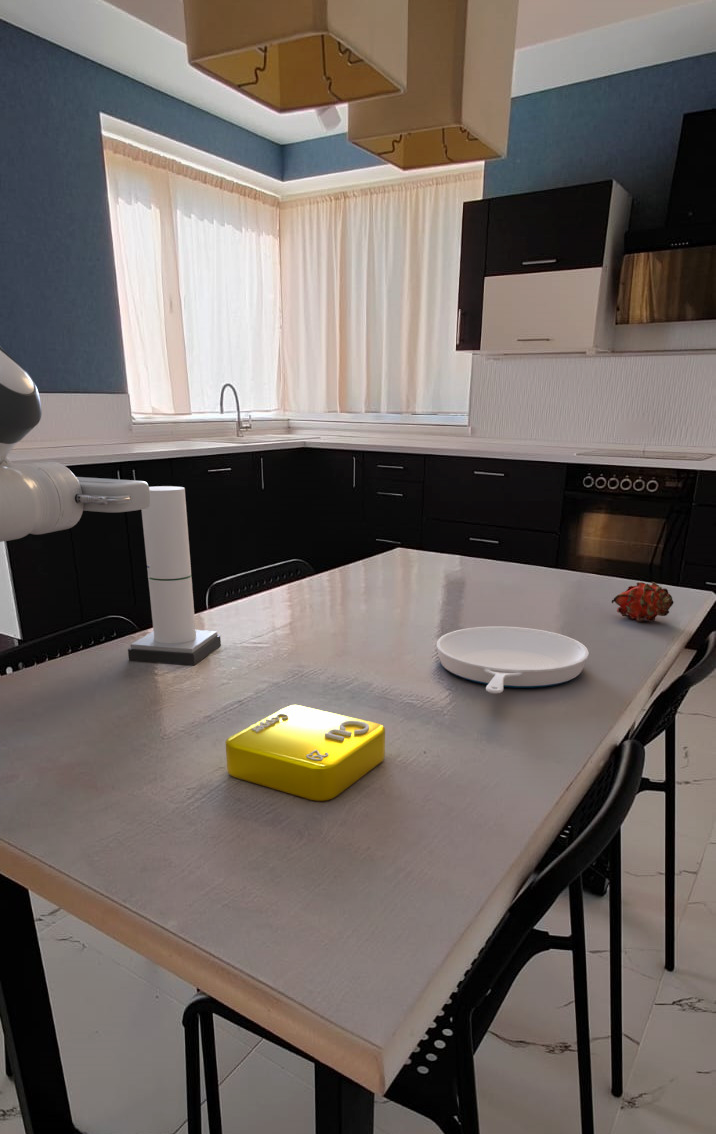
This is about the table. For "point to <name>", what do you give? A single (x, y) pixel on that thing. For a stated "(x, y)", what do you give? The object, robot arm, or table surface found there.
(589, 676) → the table surface
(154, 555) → the cylindrical container
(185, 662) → the scale
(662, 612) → the dragon fruit
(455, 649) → the pan
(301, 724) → the element tile
